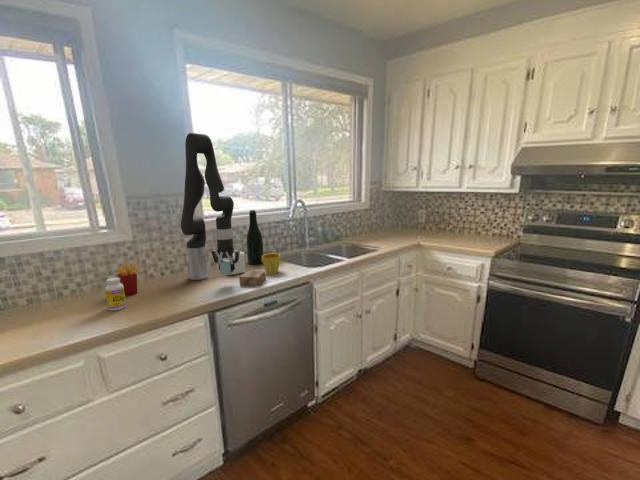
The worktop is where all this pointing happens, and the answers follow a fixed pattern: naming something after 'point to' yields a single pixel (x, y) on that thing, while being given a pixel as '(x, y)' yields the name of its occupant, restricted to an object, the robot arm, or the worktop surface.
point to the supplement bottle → (115, 294)
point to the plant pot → (271, 263)
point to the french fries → (128, 279)
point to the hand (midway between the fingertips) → (227, 270)
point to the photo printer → (239, 264)
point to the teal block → (225, 267)
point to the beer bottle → (254, 241)
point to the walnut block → (252, 278)
